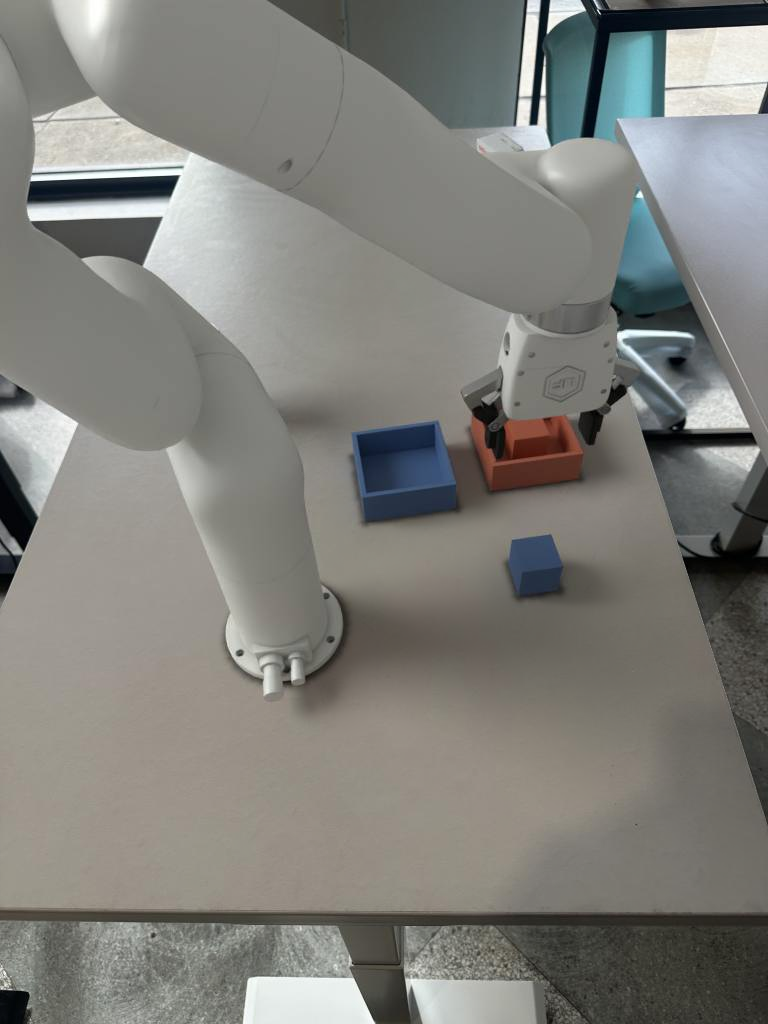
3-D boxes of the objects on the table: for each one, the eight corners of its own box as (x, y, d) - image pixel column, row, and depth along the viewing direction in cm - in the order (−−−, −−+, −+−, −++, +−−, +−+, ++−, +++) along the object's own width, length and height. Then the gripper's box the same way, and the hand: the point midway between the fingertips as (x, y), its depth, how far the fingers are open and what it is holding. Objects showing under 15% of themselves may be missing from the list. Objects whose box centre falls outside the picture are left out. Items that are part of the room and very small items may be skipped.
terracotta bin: (578, 478, 91) (584, 453, 88) (490, 491, 90) (492, 466, 87) (552, 418, 98) (556, 393, 95) (470, 430, 98) (472, 404, 94)
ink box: (472, 201, 138) (475, 136, 129) (495, 195, 139) (499, 130, 130) (496, 221, 132) (500, 155, 123) (519, 214, 134) (525, 148, 125)
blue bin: (455, 509, 89) (456, 484, 85) (364, 522, 88) (362, 497, 85) (438, 445, 96) (438, 420, 93) (354, 457, 95) (351, 432, 92)
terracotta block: (545, 460, 93) (550, 435, 89) (511, 465, 92) (514, 440, 89) (535, 436, 96) (539, 410, 92) (502, 441, 95) (504, 415, 92)
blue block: (558, 590, 81) (563, 566, 77) (518, 596, 80) (522, 572, 77) (546, 558, 83) (551, 533, 80) (508, 563, 83) (511, 539, 80)
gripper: (477, 338, 59) (467, 481, 72) (680, 310, 61) (634, 456, 74) (456, 288, 64) (450, 431, 77) (644, 263, 65) (607, 407, 78)
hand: (540, 443), depth 75 cm, fingers open, 9 cm apart
